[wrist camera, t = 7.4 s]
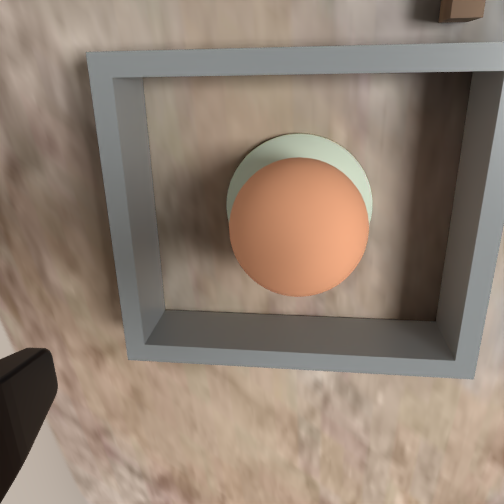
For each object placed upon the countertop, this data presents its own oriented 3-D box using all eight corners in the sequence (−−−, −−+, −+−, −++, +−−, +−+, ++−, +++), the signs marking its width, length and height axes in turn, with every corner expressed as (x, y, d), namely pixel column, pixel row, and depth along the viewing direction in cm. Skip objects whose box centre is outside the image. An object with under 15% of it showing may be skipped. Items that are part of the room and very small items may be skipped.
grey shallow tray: (499, 46, 16) (539, 41, 14) (451, 337, 21) (473, 379, 18) (120, 54, 18) (85, 51, 15) (150, 323, 22) (128, 359, 20)
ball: (364, 146, 18) (386, 174, 13) (355, 265, 20) (372, 325, 15) (236, 146, 18) (215, 173, 14) (239, 262, 20) (221, 319, 16)
